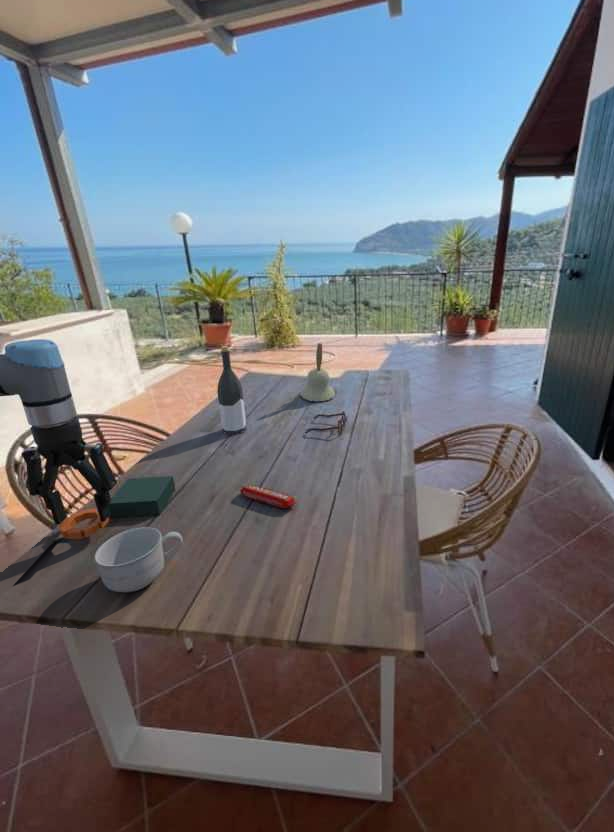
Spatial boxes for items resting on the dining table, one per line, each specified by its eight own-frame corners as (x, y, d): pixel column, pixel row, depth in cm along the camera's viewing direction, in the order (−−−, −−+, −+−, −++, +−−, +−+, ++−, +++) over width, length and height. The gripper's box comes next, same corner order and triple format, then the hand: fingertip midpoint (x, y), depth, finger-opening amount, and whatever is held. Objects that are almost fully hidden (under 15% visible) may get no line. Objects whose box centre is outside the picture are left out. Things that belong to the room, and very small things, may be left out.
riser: (110, 518, 90) (106, 503, 89) (131, 491, 101) (127, 478, 99) (159, 514, 92) (156, 500, 90) (175, 489, 102) (172, 475, 100)
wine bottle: (232, 424, 142) (222, 343, 132) (251, 427, 139) (242, 344, 129) (217, 433, 135) (206, 348, 124) (237, 436, 132) (226, 349, 122)
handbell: (326, 386, 180) (328, 335, 168) (340, 401, 168) (345, 348, 156) (294, 391, 172) (295, 338, 160) (307, 408, 161) (309, 352, 149)
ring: (53, 540, 79) (51, 534, 78) (76, 515, 87) (74, 509, 86) (96, 537, 80) (94, 530, 79) (115, 512, 87) (113, 506, 87)
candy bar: (298, 505, 95) (298, 494, 94) (289, 513, 92) (289, 502, 91) (247, 489, 102) (246, 479, 101) (237, 496, 98) (236, 486, 97)
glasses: (340, 437, 132) (340, 423, 130) (303, 435, 133) (302, 421, 131) (346, 422, 144) (346, 409, 142) (312, 420, 145) (311, 407, 143)
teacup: (96, 608, 67) (85, 572, 64) (112, 564, 77) (103, 531, 74) (183, 588, 71) (176, 553, 68) (188, 549, 81) (182, 516, 78)
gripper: (120, 411, 79) (142, 505, 87) (9, 416, 77) (42, 512, 85) (102, 425, 72) (127, 526, 80) (-21, 431, 70) (17, 534, 78)
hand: (83, 519), depth 83 cm, fingers closed on ring, 8 cm apart
